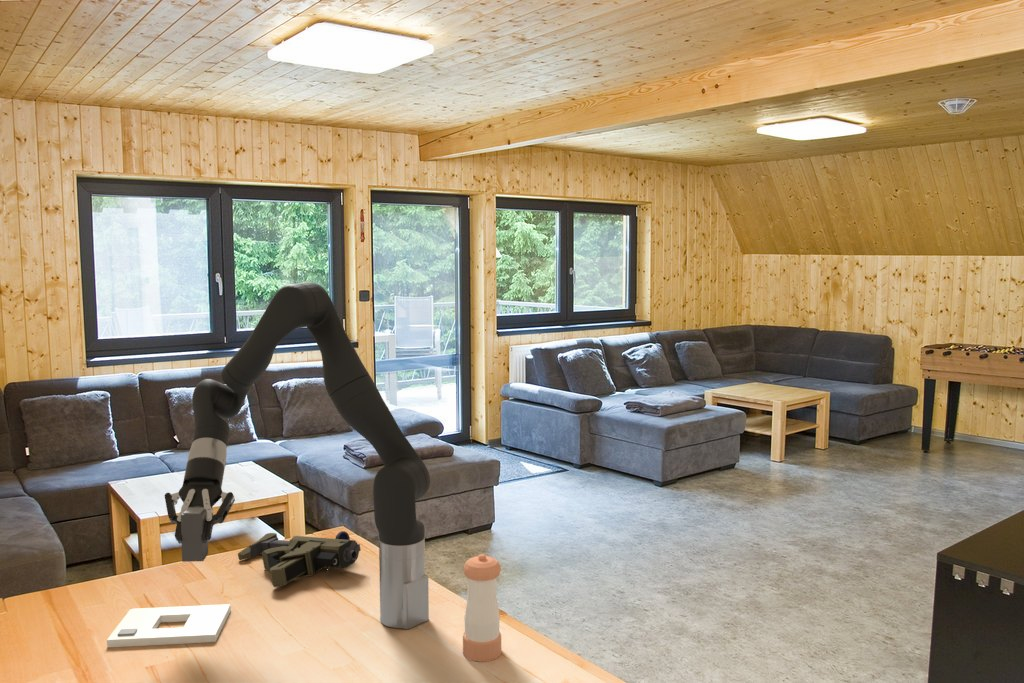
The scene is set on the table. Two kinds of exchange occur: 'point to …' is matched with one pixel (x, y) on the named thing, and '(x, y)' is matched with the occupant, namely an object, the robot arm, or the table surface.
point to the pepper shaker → (482, 610)
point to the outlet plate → (144, 631)
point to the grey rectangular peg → (193, 534)
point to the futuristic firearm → (302, 555)
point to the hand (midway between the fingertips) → (192, 541)
